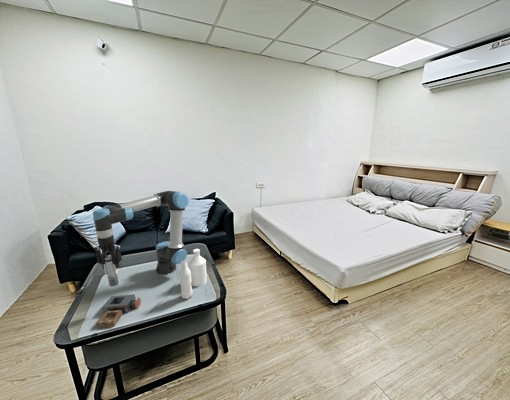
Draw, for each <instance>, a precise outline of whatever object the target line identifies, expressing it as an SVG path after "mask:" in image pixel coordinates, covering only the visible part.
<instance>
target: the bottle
mask: <svg viewBox="0 0 510 400" xmlns="http://www.w3.org/2000/svg"><path fill="white" fill-rule="evenodd" d="M192 253H193V257H192V258H191V259H190V260H189V261H188V268H189V270H190V271H191V280H192V281H191V287H192V286H193V287H202V286H204V285H205V284H207V282H208V276H207V260H206V259H205V258H204V257H203V256H201V254H200V253H201V250H200V249H199V248H194V249H193V250H192Z"/></svg>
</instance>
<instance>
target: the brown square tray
mask: <svg viewBox="0 0 510 400" xmlns="http://www.w3.org/2000/svg"><path fill="white" fill-rule="evenodd" d="M123 315H124V313H123V312H122V310H114V311H106V312H105V313H104V314H103V313H102V316H101V317H100V318H99V319H98V320H97V321H96V327H97V328H110V327H111V328H112V326H113V327H115V326H116V325H117V323H119V321H120V319H121V318H122V316H123Z"/></svg>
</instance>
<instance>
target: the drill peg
mask: <svg viewBox="0 0 510 400" xmlns="http://www.w3.org/2000/svg"><path fill="white" fill-rule="evenodd" d="M104 260H105V265H106V270H107V275H106V276H107V279H108V285H109V287H115V286H118V285H119V277H118V273H117V274H115V272H114V267H113V264H114V261H113V259H112V257H111V255H110V254H108V255H106V256H105V257H104Z"/></svg>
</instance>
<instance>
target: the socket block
mask: <svg viewBox="0 0 510 400" xmlns="http://www.w3.org/2000/svg"><path fill="white" fill-rule="evenodd" d="M132 300H137V298H136V294H125V295H124V294H121V295H111V296H110V297H109V299H107V301H105V303H104V304H103V305H102V306H101V309H102V315H103V314H104V313H105V312H106V311H114V310H122V312H123V314H126V313H127V314H128V313H129V312H131V309H132V308H130V303H131V301H132Z"/></svg>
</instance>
